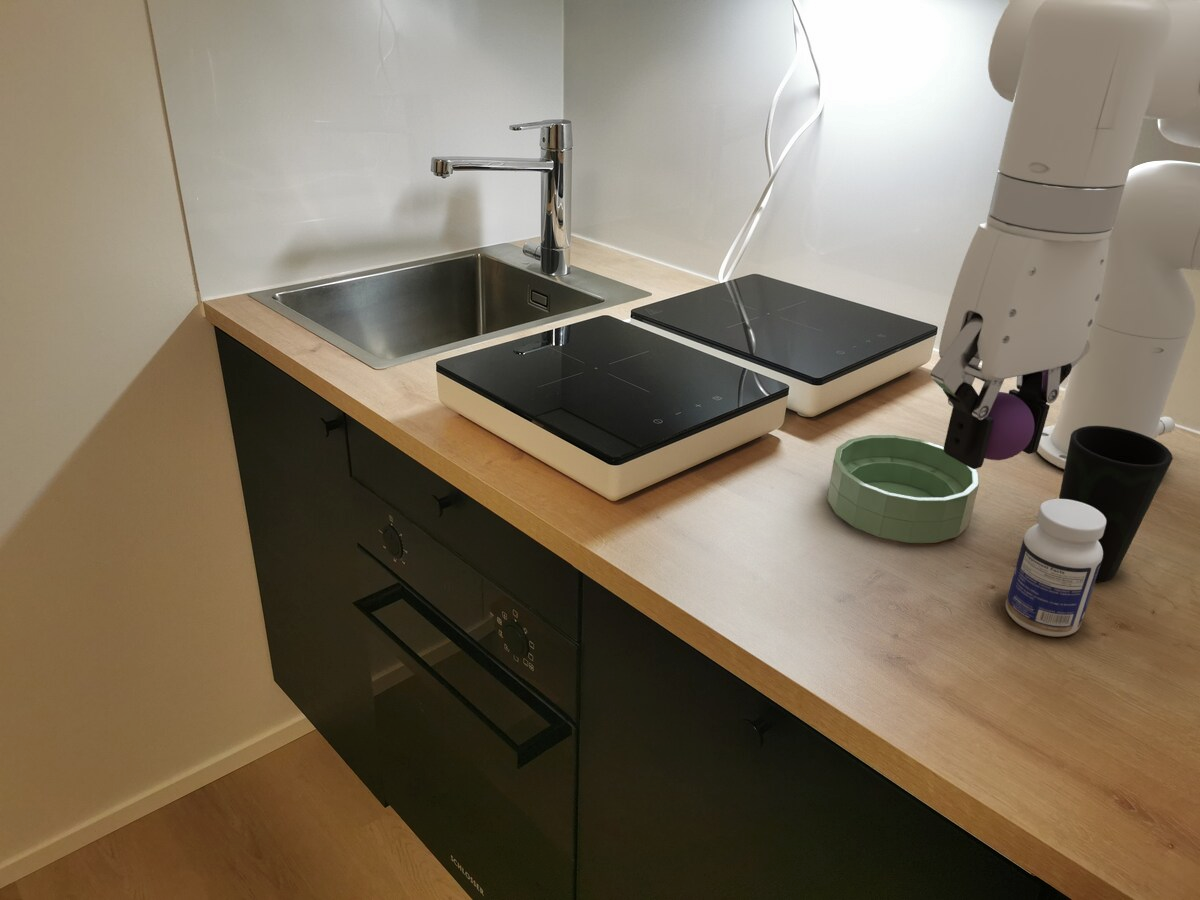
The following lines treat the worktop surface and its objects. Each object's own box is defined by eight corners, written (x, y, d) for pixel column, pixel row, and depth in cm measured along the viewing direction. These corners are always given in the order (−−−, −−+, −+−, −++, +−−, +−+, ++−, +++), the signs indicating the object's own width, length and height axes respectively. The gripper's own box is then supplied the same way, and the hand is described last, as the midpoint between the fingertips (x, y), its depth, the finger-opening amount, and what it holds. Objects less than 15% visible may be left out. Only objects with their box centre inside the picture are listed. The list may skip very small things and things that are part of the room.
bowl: (899, 468, 97) (908, 426, 95) (997, 529, 86) (1009, 483, 84) (800, 492, 91) (806, 448, 89) (891, 560, 81) (901, 512, 79)
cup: (1141, 595, 78) (1187, 471, 72) (1046, 582, 79) (1084, 459, 73) (1114, 547, 84) (1154, 430, 79) (1027, 535, 86) (1061, 420, 80)
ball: (986, 436, 71) (1001, 376, 68) (1040, 464, 67) (1057, 402, 64) (939, 448, 68) (952, 387, 66) (991, 477, 65) (1008, 414, 62)
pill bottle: (1031, 589, 78) (1062, 487, 73) (1094, 625, 74) (1130, 520, 69) (989, 609, 75) (1018, 505, 70) (1051, 648, 71) (1087, 540, 66)
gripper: (1089, 185, 65) (1027, 413, 74) (913, 203, 58) (866, 453, 67) (1189, 208, 60) (1109, 453, 68) (1007, 230, 53) (943, 501, 61)
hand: (990, 450), depth 67 cm, fingers closed on ball, 4 cm apart
